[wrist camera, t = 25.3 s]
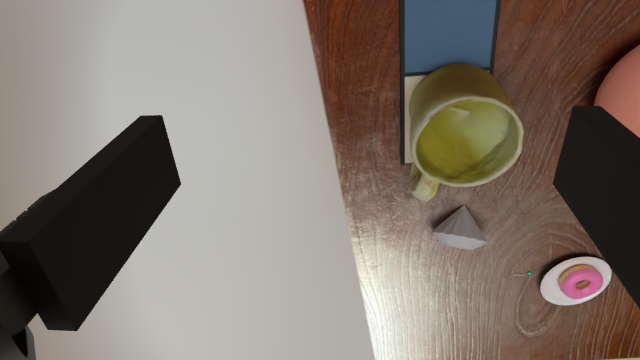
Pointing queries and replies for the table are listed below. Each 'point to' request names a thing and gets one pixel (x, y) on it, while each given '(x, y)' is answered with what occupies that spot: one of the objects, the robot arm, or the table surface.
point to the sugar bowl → (623, 91)
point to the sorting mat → (444, 39)
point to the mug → (460, 130)
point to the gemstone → (460, 231)
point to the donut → (575, 280)
